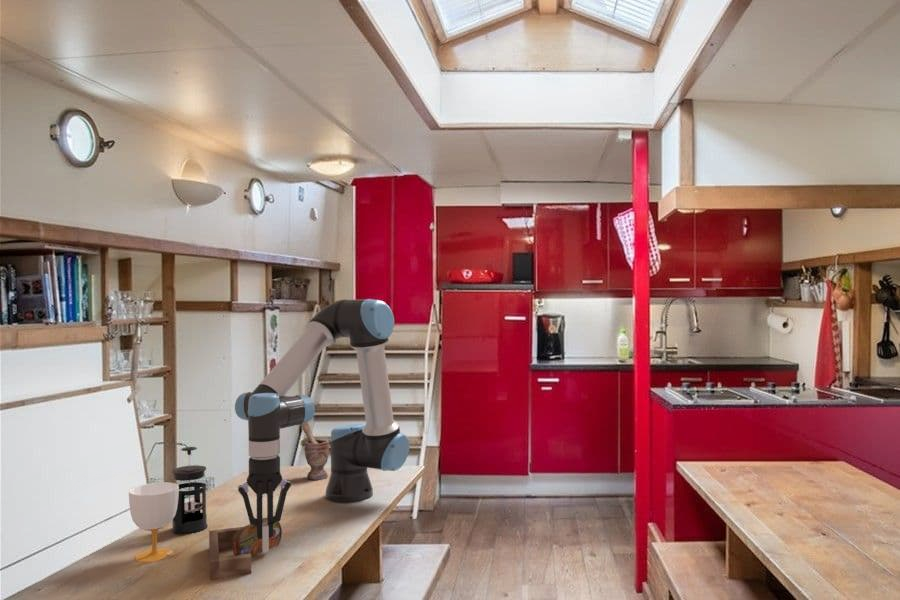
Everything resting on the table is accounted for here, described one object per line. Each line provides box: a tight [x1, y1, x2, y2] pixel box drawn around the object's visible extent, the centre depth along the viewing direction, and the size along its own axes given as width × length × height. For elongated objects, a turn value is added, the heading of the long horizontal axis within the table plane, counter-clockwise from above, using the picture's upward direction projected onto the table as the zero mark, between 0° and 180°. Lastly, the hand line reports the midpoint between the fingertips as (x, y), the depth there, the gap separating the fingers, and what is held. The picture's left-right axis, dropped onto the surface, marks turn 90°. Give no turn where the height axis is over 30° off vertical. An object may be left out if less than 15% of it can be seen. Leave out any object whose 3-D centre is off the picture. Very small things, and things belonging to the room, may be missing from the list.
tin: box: [232, 517, 283, 559], centre depth 169 cm, size 15×3×8 cm, turn 152°
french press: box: [171, 446, 208, 535], centre depth 188 cm, size 12×9×23 cm
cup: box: [128, 481, 180, 563], centre depth 169 cm, size 12×12×17 cm
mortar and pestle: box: [300, 421, 330, 481], centre depth 242 cm, size 12×9×20 cm
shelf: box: [208, 526, 252, 581], centre depth 164 cm, size 9×22×5 cm, turn 20°
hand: (265, 550), depth 167 cm, fingers closed
